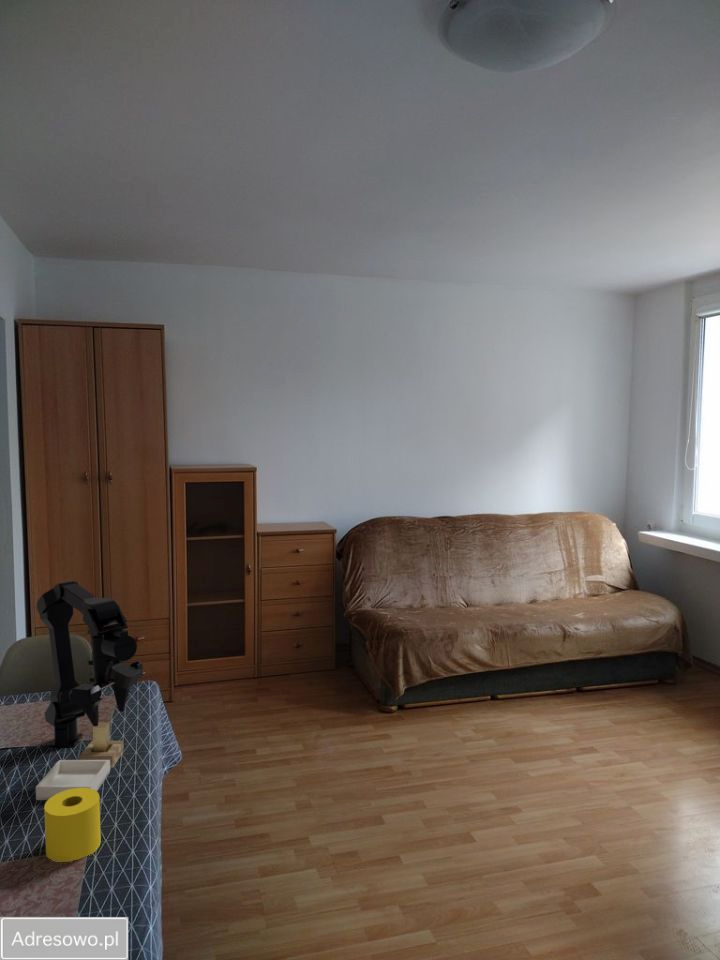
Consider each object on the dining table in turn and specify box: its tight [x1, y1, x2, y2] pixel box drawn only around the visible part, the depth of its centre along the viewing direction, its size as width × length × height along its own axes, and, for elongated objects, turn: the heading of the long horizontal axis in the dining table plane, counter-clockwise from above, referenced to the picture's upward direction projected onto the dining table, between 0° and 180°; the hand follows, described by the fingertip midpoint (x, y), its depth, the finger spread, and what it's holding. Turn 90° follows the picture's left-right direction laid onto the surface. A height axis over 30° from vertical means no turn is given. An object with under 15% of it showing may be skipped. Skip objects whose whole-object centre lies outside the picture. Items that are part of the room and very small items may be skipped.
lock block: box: [78, 740, 124, 769], centre depth 169 cm, size 8×8×3 cm
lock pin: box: [92, 721, 111, 752], centre depth 169 cm, size 3×3×9 cm
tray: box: [35, 759, 111, 801], centre depth 157 cm, size 12×12×3 cm
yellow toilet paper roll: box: [44, 788, 102, 862], centre depth 134 cm, size 10×10×9 cm
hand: (108, 718), depth 162 cm, fingers open, 9 cm apart
